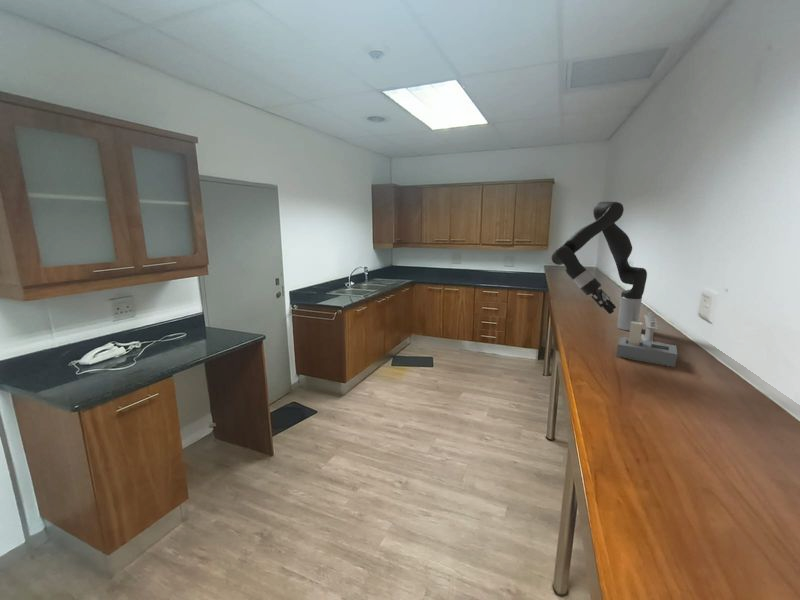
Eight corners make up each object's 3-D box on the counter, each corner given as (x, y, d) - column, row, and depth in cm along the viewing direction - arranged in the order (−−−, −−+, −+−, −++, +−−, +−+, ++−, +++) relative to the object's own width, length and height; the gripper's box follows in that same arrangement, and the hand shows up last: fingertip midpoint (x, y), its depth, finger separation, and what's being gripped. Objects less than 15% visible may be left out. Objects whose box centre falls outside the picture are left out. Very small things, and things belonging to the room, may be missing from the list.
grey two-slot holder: (619, 348, 158) (620, 336, 157) (674, 357, 147) (676, 345, 146) (616, 356, 149) (617, 344, 148) (674, 367, 137) (677, 354, 136)
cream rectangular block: (627, 349, 153) (631, 321, 150) (638, 351, 150) (642, 322, 148) (626, 351, 150) (630, 322, 148) (637, 353, 148) (642, 324, 145)
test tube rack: (655, 352, 153) (659, 324, 150) (642, 350, 156) (647, 322, 153) (651, 336, 174) (655, 311, 171) (641, 335, 176) (644, 310, 173)
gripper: (591, 279, 148) (619, 309, 144) (596, 275, 159) (622, 302, 155) (576, 290, 152) (603, 319, 148) (582, 285, 164) (607, 312, 160)
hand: (613, 310), depth 152 cm, fingers open, 8 cm apart
